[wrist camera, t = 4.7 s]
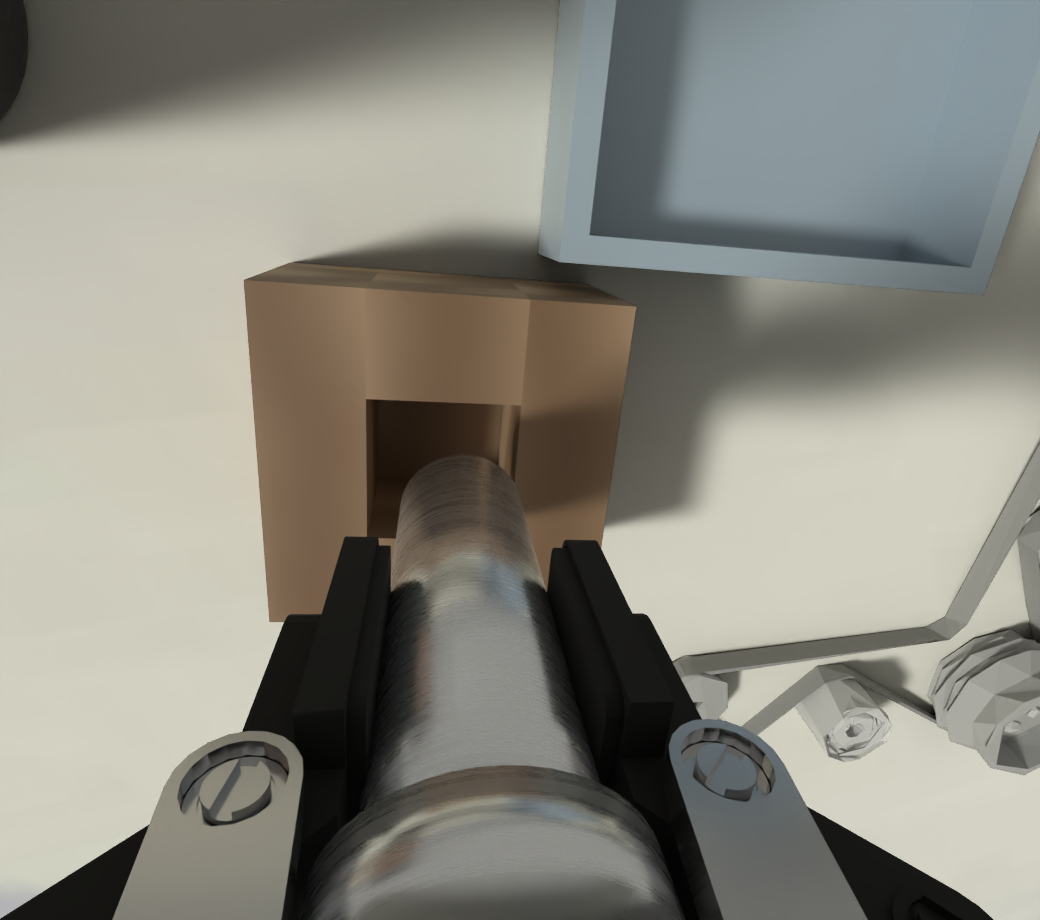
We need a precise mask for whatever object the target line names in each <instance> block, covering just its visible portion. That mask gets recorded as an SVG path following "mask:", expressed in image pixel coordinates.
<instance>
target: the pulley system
mask: <svg viewBox="0 0 1040 920" xmlns="http://www.w3.org/2000/svg"><path fill="white" fill-rule="evenodd" d="M1039 499H1040V444H1039V446H1038V448H1037V450H1036V451H1035V453H1034V455H1033V457H1032V459H1031V461H1030V462H1029V464H1028V466H1027V468H1026V470H1025V472H1024V473H1023V475H1022V477H1021V479H1020V481H1019V483H1018V484H1017V486H1016V488H1015V490H1014V492H1013V494H1012V495H1011V497H1010V499H1009V501H1008V503H1007V504H1006V506H1005V508H1004V510H1003V512H1002V514H1001V515H1000V517H999V519H998V521H997V523H996V525H995V526H994V528H993V530H992V532H991V534H990V536H989V537H988V539H987V541H986V543H985V545H984V547H983V548H982V550H981V552H980V554H979V556H978V558H977V559H976V561H975V563H974V565H973V567H972V568H971V570H970V572H969V574H968V576H967V578H966V579H965V581H964V583H963V585H962V587H961V589H960V590H959V592H958V594H957V596H956V598H955V600H954V601H953V603H952V605H951V607H950V609H949V611H948V612H947V614H946V616H945V617H944V618H942V619H940V620H938V621H936V622H934V623H932V624H930V625H929V626H927V627H921V628H914V629H906V630H898V631H890V632H882V633H874V634H867V635H859V636H851V637H843V638H835V639H827V640H820V641H812V642H804V643H796V644H788V645H781V646H773V647H765V648H757V649H749V650H741V651H734V652H726V653H718V654H710V655H702V656H689V655H686V656H684V657H682V658H680V659H678V660H677V661H675V662H673V664H674V666H675V668H676V670H677V672H678V674H679V676H680V678H681V680H682V682H683V684H684V685H685V687H686V689H687V691H688V693H689V695H690V697H691V699H692V701H693V703H694V705H695V707H696V709H697V711H698V712H699V714H700V716H701V718H702V719H714V720H717V719H718V718H719V717H720V716H721V714H722V713H723V712H724V711H725V710H726V709H727V708H728V683H727V682H725V681H723V680H721V679H720V676H719V675H718V674H720V673H727V672H733V671H740V670H747V669H754V668H761V667H767V666H774V665H781V664H788V663H795V662H801V661H808V660H815V659H822V658H829V657H835V656H842V655H849V654H856V653H863V652H869V651H876V650H883V649H890V648H897V647H903V646H910V645H917V644H924V643H931V642H937V641H944V640H949V639H951V638H952V637H953V636H954V635H955V634H957V633H958V632H959V631H960V630H961V629H962V628H964V627H965V626H966V625H967V624H968V622H969V620H970V618H971V617H972V615H973V613H974V612H975V610H976V608H977V606H978V605H979V603H980V601H981V599H982V598H983V596H984V594H985V592H986V591H987V589H988V587H989V585H990V584H991V582H992V580H993V578H994V577H995V575H996V573H997V572H998V570H999V568H1000V566H1001V565H1002V563H1003V561H1004V559H1005V558H1006V556H1007V554H1008V552H1009V551H1010V549H1011V547H1012V545H1013V544H1014V542H1015V540H1016V539H1018V547H1019V555H1020V563H1021V570H1022V578H1023V586H1024V593H1025V601H1026V607H1027V612H1028V617H1029V622H1030V626H1031V631H1032V636H1033V640H1029V639H1026V638H1024V637H1023V636H1021V635H1019V634H1017V633H1016V632H1014V631H1012V630H1007V631H1003V632H999V633H995V634H991V635H987V636H983V637H980V638H976V639H973V640H972V641H970V642H969V643H967V644H966V645H964V646H963V647H961V648H960V649H958V650H957V651H955V652H954V653H952V654H951V655H949V656H948V657H946V658H945V659H943V660H942V661H940V663H939V665H938V667H937V669H936V671H935V673H934V676H933V679H932V682H931V685H930V687H929V690H928V693H927V696H928V698H929V699H930V701H931V702H932V704H933V708H934V711H935V714H936V716H934V715H932V714H930V713H929V712H927V711H925V710H923V709H921V708H920V707H918V706H916V705H914V704H912V703H911V702H909V701H907V700H905V699H904V698H902V697H900V696H898V695H897V694H895V693H893V692H891V691H889V690H888V689H886V688H884V687H882V686H881V685H879V684H877V683H875V682H874V681H872V680H870V679H868V678H867V677H865V676H863V675H861V674H860V673H858V672H856V671H854V670H852V669H851V668H849V667H847V666H845V665H844V664H831V665H818V666H816V667H815V668H814V669H812V670H811V671H810V672H809V673H807V674H806V675H805V676H804V677H802V678H801V679H800V680H799V681H797V682H796V683H795V684H794V685H792V686H791V687H790V688H789V689H788V690H786V691H785V692H784V693H783V694H781V695H780V696H779V697H778V698H776V699H775V700H774V701H773V702H771V703H770V704H769V705H768V706H766V707H765V708H764V709H763V710H761V711H760V712H759V713H758V714H756V715H755V716H754V717H753V718H752V719H750V720H749V721H748V722H747V723H745V724H744V725H743V726H742V727H743V728H745V729H746V730H748V731H750V732H752V733H753V734H755V735H758V734H759V733H761V732H762V731H763V730H765V729H766V728H767V727H769V726H770V725H771V724H772V723H774V722H775V721H776V720H778V719H779V718H780V717H782V716H783V715H784V714H786V713H787V712H788V711H789V710H791V709H792V708H793V707H795V709H796V710H797V712H798V713H799V715H800V716H801V718H802V719H803V720H804V722H805V723H806V725H807V726H808V728H809V729H810V730H811V732H812V733H813V735H814V736H815V738H816V739H817V740H818V742H819V743H820V745H821V746H822V748H823V749H824V750H825V752H826V753H827V755H828V756H829V757H832V758H835V759H837V760H840V761H843V762H847V761H852V760H857V759H860V758H862V757H863V756H865V755H867V754H868V753H870V752H871V751H873V750H874V749H876V748H877V747H879V746H880V745H882V744H884V743H885V742H886V741H887V739H888V736H889V734H890V731H891V729H892V726H893V725H892V724H891V722H890V721H889V718H888V716H887V714H886V713H885V712H884V711H883V710H882V709H881V708H880V707H879V706H878V705H877V704H876V703H875V702H874V701H873V700H872V698H871V697H870V696H869V695H868V693H867V692H866V691H865V690H864V688H863V687H862V686H861V685H860V684H862V685H864V686H866V687H868V688H870V689H872V690H873V691H875V692H877V693H879V694H881V695H883V696H885V697H887V698H888V699H890V700H892V701H894V702H896V703H898V704H900V705H902V706H904V707H905V708H907V709H909V710H911V711H913V712H915V713H917V714H919V715H921V716H922V717H924V718H926V719H928V720H930V721H932V722H934V723H936V724H937V727H940V728H942V729H944V730H946V731H948V734H949V741H951V742H954V743H957V744H960V745H963V746H966V747H969V748H972V749H975V750H977V752H978V753H979V754H980V755H981V757H982V758H983V759H984V760H985V762H986V763H987V764H988V765H989V767H990V768H993V769H998V770H1002V771H1007V772H1011V773H1016V774H1020V775H1025V774H1027V773H1029V772H1031V771H1033V770H1035V769H1037V768H1039V767H1040V570H1039V566H1040V510H1039V511H1037V512H1036V513H1034V514H1033V515H1031V516H1030V514H1031V512H1032V511H1033V509H1034V507H1035V506H1036V504H1037V502H1038V500H1039ZM1029 516H1030V517H1029ZM1024 525H1025V526H1024ZM1023 526H1024V528H1023ZM1022 528H1023V530H1022ZM1021 530H1022V532H1021ZM1020 532H1021V533H1020ZM1019 533H1020V535H1019ZM1018 535H1019V536H1018Z"/></svg>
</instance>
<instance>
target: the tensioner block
mask: <svg viewBox="0 0 1040 920" xmlns="http://www.w3.org/2000/svg"><path fill="white" fill-rule="evenodd" d="M244 289H245V302H246V316H247V329H248V342H249V355H250V369H251V382H252V395H253V409H254V422H255V435H256V449H257V462H258V475H259V488H260V502H261V515H262V528H263V542H264V555H265V568H266V582H267V595H268V608H269V621H270V622H284V621H285V620H286V618H287V616H288V615H290V614H322V611H323V607H324V604H325V601H326V597H327V594H328V591H329V587H330V584H331V581H332V577H333V574H334V570H335V567H336V564H337V560H338V557H339V554H340V550H341V547H342V543H343V540H344V538H345V537H346V536H350V537H378V538H379V545H388V546H391V570H392V563H393V555H394V548H395V541H396V534H397V526H398V519H399V512H400V505H401V499H402V495H403V492H404V490H405V487H406V486H407V484H408V482H409V481H410V479H411V478H412V477H413V475H414V474H415V473H416V472H417V471H418V470H419V469H421V468H422V467H423V466H425V465H426V464H428V463H430V462H431V461H433V460H436V459H438V458H441V457H445V456H448V455H455V454H468V455H475V456H479V457H482V458H485V459H488V460H490V461H492V462H494V463H495V464H497V465H498V466H500V467H501V468H502V469H503V470H504V471H506V472H507V474H508V475H509V476H510V477H511V479H512V480H513V482H514V483H515V485H516V488H517V490H518V493H519V496H520V500H521V504H522V507H523V511H524V514H525V518H526V521H527V525H528V528H529V532H530V535H531V539H532V542H533V546H534V550H535V553H536V557H537V560H538V564H539V567H540V571H541V574H542V578H543V581H544V585H545V588H546V592H547V586H548V577H549V568H550V559H551V552H552V549H553V548H562V545H563V542H564V541H565V540H596V541H597V542H598V544H599V546H600V548H601V545H602V538H603V531H604V525H605V518H606V511H607V504H608V497H609V490H610V484H611V477H612V470H613V463H614V456H615V449H616V443H617V436H618V429H619V422H620V415H621V408H622V402H623V395H624V388H625V381H626V374H627V367H628V361H629V354H630V347H631V340H632V333H633V326H634V320H635V313H636V306H634V305H632V304H630V303H627V302H625V301H623V300H621V299H619V298H617V297H615V296H612V295H610V294H608V293H606V292H604V291H602V290H600V289H598V288H595V287H593V286H591V285H589V284H579V283H566V282H552V281H538V280H524V279H511V278H497V277H483V276H469V275H456V274H442V273H428V272H414V271H401V270H387V269H373V268H359V267H346V266H332V265H318V264H304V263H288V264H285V265H283V266H280V267H277V268H275V269H272V270H269V271H267V272H264V273H261V274H259V275H256V276H253V277H251V278H248V279H245V280H244Z"/></svg>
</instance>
